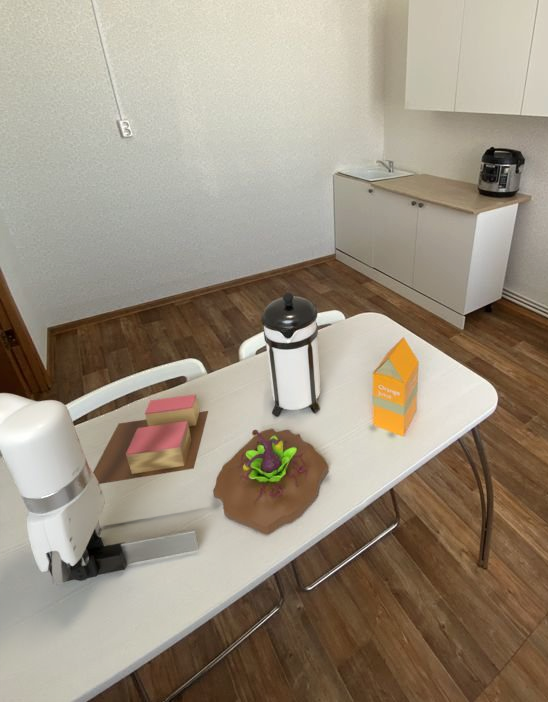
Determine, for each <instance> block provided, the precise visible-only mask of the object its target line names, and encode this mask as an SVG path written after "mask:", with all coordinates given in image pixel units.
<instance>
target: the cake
mask: <svg viewBox="0 0 548 702" xmlns="http://www.w3.org/2000/svg"><path fill="white" fill-rule="evenodd" d="M199 412H200V413H199V416H198V420H197V423H196V425H194V426H188V422H187V421H184V422H177V423H170V424H163V425H156V426H149V427H148V423H147V420H146V419H140V420H134V421H127V422H120V423H118V424H117V425H116V428H115V430H114V431H113V433H112V435H111V437H110V439H109V440H108V443H107V445H106V447H105V448H104V450H103V452H102V454H101V456H100V458H99V460H98V461H97V464H96V466H95V468H94V469H93V470H92V472H93V473H94V475H95V477H96V478H97V480H98V482H99V485H102V484H108V483H114V482H119V481H127V480H132V479H138V478H145V477H150V476H151V477H152V476H157V475H163V474H169V473H175V472H180V471H188V470H194V469H195V465H196V461H197V457H198V453H199V449H200V446H201V442H202V438H203V433H204V429H205V426H206V422H207V418H208V415H209V410H205V411H199Z"/></svg>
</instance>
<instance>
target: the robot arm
mask: <svg viewBox="0 0 548 702" xmlns="http://www.w3.org/2000/svg"><path fill="white" fill-rule="evenodd" d="M2 457H3V459H4V461H5V464H6V466H7V468H8V471H9V472H10V475H11V477H12V479H13V481H14V483H15V486H16V489H17V490H18V492H19V494H20V497H21V499H22V502H23V503H24V505H25V508H26V510H27V511H28V514H27V517H26V530H27V537H28V541H29V545H30V548H31V551H32V555H33V557H34V559H35V562H36V565H37V568H38V569H39V571H40V572H41V573H46V572H49V568H50V566H51V564H52V576H51V578H52V586H57V585H63V584H65V583H66V582H67V581H66V580H67V579H68V577H69V576H70V575H71V572H72V574H73V577H74V579H75V581H79V582H83V581H86V580H88V579H91V578H97V576H99V575H98V572H99V570H98V568H97V565H96V563H95V560H94V557H93V556H89V555H88V552H87V549H92V548H97V547H102V546H105V543H104V541H103V539H102V536H101V534H102V527H101V524H100V518H101V515H102V513H103V510H104V507H105V503H106V502H105V496H104V493H103V490H102V487H101V484H99V482H98V480H97V478H96V477H95V475H94V473H93V470H92V468H91V467H90V465H89V463H88V460H87V457H86V455H85V452H84V449H83V447H82V444H81V441H80V438H79V435H78V433H77V430H76V427H75V424H74V422H73V419H72V416H71V413H70V411H69V409H68V407H67V406H66V405H65V404H64V402H61V401H58V400H55V399H47V400H41V401H40V400H39V401H37V400H34V399H30V398H26V397H24V396H20V395H17V394H14V393H10V392H9V393H8V392H0V459H1V458H2Z"/></svg>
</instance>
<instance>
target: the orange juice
mask: <svg viewBox="0 0 548 702" xmlns="http://www.w3.org/2000/svg"><path fill="white" fill-rule="evenodd" d="M419 363H420V362H419V359H418V358H417V356H416V354H415V353H414V351H413V350H412V348H411V346H410V345H409V343H408V342H407V341H406V338H405V337H404V336H403V337H402V338H401V339H400V340H399V341H397V342H396V344H395V345H394V346H393V347H392V348H391V349H389V351H387V353H386V354H385V356H384V357H383V358H382V360H381V362H380V363H379V364H378V366H377V367H376V368H375V369H374V371H373V372H372V425H373V426H375V427H377V428H379V429H382V430H385V431H387V432H390V433H392V434H395V435H398V436H401V437H404V436H405V434H406V432H407V431H408V428H409V427H410V424H411V422H412V420H413V418H414V416H415V414H416V412H417V405H418V404H417V403H418V387H419V385H418V384H419V382H418V381H419Z"/></svg>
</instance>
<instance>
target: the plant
mask: <svg viewBox="0 0 548 702" xmlns="http://www.w3.org/2000/svg"><path fill="white" fill-rule="evenodd" d="M251 435H252V436H253V437H252V438H251V439H250V440H249V441H248V442H247V443H246V444H245V445H244V446H242V447H241V448H240V449H239V450H238V451H237V452H236V453H235V454H234V455H233V456H232V457H231V458H230V460H228V461H227V462H225V463H224V464H223V465H222V467H221V470H220V472H219V473H218V475H217V477H216V480H215V485H214V488H213V490H212V493H213V497H214V498H216V499H219V500H220V501H221V502H222V506H223V512H224V516H225V518H227V519H228V520H231V521H234V522H236V523H238V524H240V525H243V526H245V527H248V528H250V529H252V530H253V531H256V532H258V533H260V534H263V535H266V536H268V535H270V534H272V533H274V532H276V531H277V530H278V529H280V528H281V527H283V526H285V525H289V524H292V523H294V522H295V521H297V520H298V519H299V518H300V517H302V516H303V514H304V513H305V512H306V511H307V510H308V509H309V508H310V506H311V505H312V504H313V503H314V502H315V501H316V499H318V497H319V490H320V486H321V484H322V482H323V480H324V479H325V477H326V476H327V474H328V473H329V464H328V463H327V461H326V460H325V458H324V457H323V456H322V455H321V454H320V453H319V452H318V451H317V450H316V448H315V447H314V446H313V445H312V444H311V443H309V442H307V441H304V440H303V439H302V437H301V434H300V433H293V432H292V430H289V429H284V430H281V431H276V430H275V429H274V428H269V429H266V430H262V431H260V432H259V430H258V429H253V430H252V432H251Z"/></svg>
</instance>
